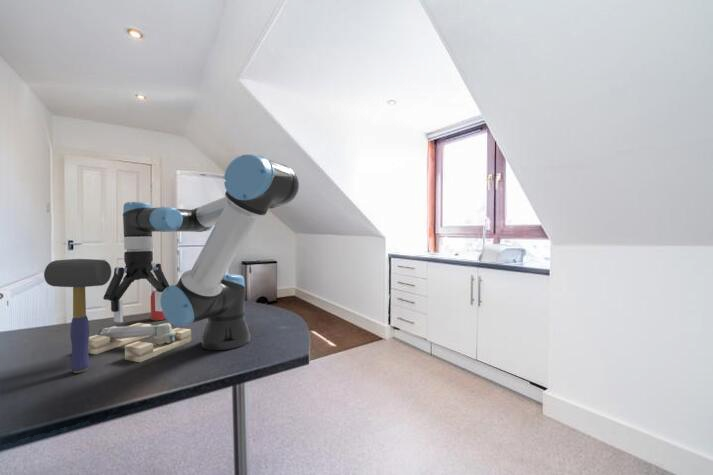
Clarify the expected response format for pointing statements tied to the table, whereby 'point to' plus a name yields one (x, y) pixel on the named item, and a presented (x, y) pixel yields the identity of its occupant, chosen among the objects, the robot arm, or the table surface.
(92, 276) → the rubber mallet
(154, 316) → the beer can
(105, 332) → the light grey long bar
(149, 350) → the v block cradle
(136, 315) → the table surface
